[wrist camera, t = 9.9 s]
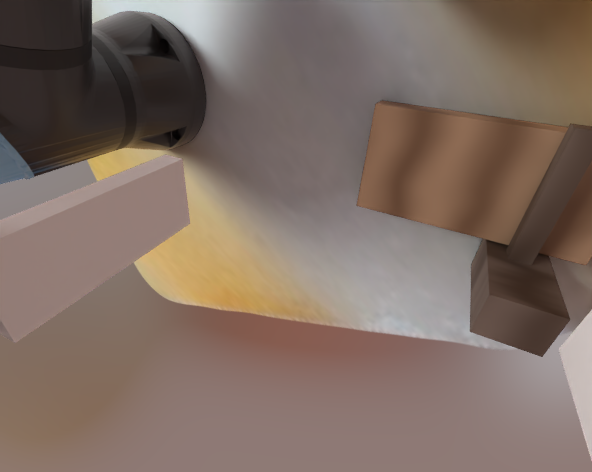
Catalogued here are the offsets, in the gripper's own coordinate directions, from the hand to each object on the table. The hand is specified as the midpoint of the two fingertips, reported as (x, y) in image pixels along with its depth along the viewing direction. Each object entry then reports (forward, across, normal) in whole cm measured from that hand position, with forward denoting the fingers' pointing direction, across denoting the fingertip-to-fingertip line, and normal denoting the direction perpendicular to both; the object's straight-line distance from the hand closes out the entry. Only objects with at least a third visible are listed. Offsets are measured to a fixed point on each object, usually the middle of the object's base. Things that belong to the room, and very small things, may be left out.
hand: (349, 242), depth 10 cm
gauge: (+23, +11, -7) cm, 27 cm away
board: (+24, +6, -5) cm, 25 cm away
